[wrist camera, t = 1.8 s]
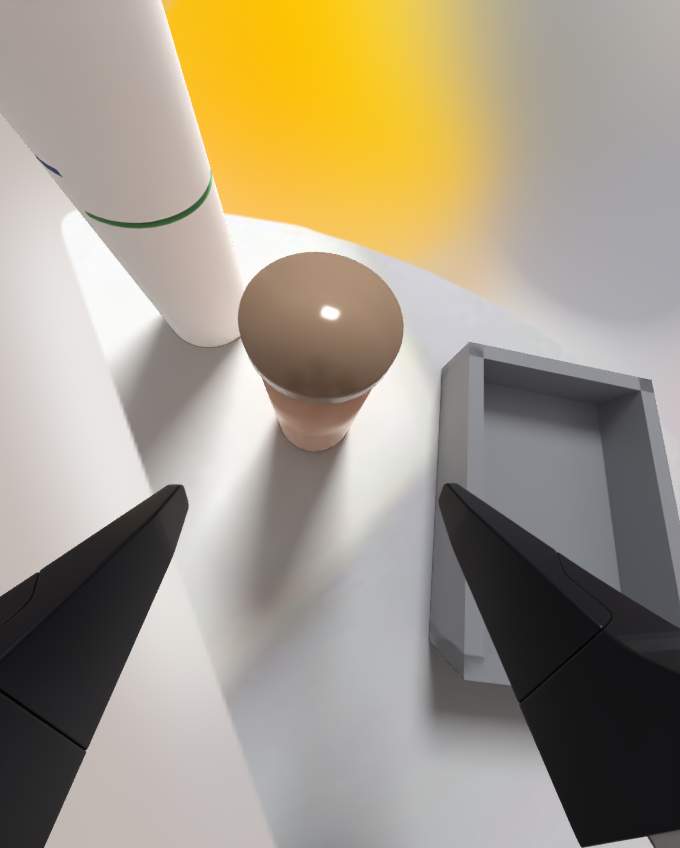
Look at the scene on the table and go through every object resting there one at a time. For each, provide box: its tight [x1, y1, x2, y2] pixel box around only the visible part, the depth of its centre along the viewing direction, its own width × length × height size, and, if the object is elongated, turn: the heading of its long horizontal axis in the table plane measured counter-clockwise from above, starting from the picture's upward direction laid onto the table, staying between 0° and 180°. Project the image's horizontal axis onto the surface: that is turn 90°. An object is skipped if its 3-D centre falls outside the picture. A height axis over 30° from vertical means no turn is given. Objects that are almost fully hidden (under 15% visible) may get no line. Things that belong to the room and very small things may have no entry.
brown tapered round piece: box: [238, 252, 403, 451], centre depth 17 cm, size 6×6×13 cm
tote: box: [429, 342, 680, 685], centre depth 21 cm, size 22×16×4 cm
